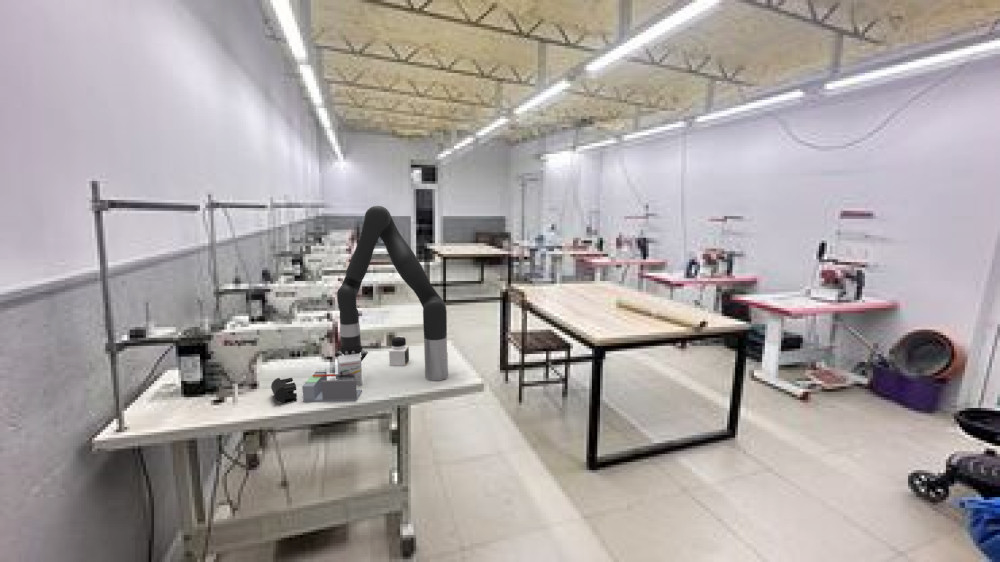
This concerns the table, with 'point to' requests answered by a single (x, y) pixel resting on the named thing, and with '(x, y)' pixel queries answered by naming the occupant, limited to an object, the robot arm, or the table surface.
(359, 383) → the ink box
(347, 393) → the gauge body
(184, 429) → the table surface
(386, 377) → the table surface
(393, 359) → the medicine bottle
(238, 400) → the table surface
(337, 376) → the plunger
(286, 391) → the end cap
